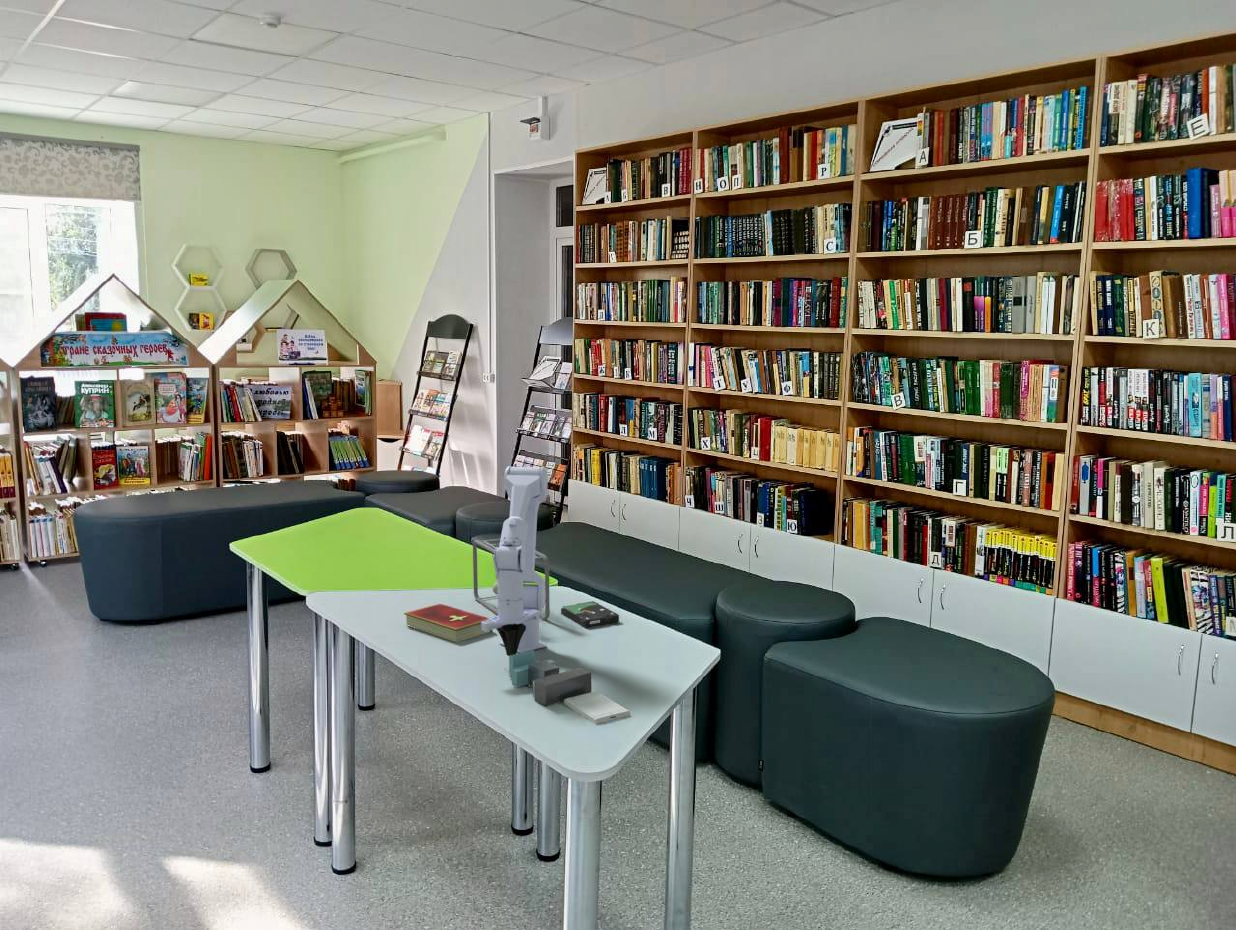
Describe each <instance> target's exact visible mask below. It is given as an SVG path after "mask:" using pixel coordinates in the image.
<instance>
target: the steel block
mask: <svg viewBox="0 0 1236 930" xmlns="http://www.w3.org/2000/svg"><path fill="white" fill-rule="evenodd" d="M558 673H560V667H559V666H557V665H555V664H554V665H553V664H551V663H549V662H547V661H544V659H542V660H538V661H535V662H534V663H530V664H528V684H527V685H530V686H532V687H533V681H534V680H537V679H540V678H544V677H547V676H551V675H554V674H558ZM530 686H529V687H530ZM532 687H531V688H532Z"/></svg>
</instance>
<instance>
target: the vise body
mask: <svg viewBox="0 0 1236 930" xmlns="http://www.w3.org/2000/svg"><path fill="white" fill-rule="evenodd" d="M592 687H593V685H592V671H589V670H588V669H585V668H582V666H581V667H576V668H573V669H569V670H565V671H561V672H559V673H558V674H554V675H551V676H547V677H544V678H540V679H537V680H534V681H533V688H532V697H533V698H534V702H536V703H538V704H539V705H542V706H544V707H548V706H552V705H555V703H556V704H558V703H561V702H564V700H565V699H567V698H571V697H575V696H579V695H583V694H587V693H591V692H593V691H592V690H593V689H592Z"/></svg>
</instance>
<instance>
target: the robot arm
mask: <svg viewBox="0 0 1236 930" xmlns="http://www.w3.org/2000/svg"><path fill="white" fill-rule="evenodd" d="M548 479H549V476H548V469H547V468H546V467H545V466H543V465H542V466H511V465H508V466H507V467H506V468H505V470H504V479H503V482H504V489H505V490H506V493H507V496H508V498H509V501H510V505H509V517H508V518H507V519H505V520H504V521H503V524H502V529H501V535H500V538H499V539H500V540H499V544H498V547H497V548H496V549H495V548H494V549H495V552H494V554H493V558H494V560H493V567H494V571H495V579H496V582H498V595H497V596H498V597H497V610H498V615H496V616H494V617H491V618H490V619H489V620H486V621H482V622H481V630H483V631H485V632H488V633H490V632H489V631H490V630H492V629H493V630H497V632H498V634H499V636H500V638H501V641H499V644H500V645H501V646H503V647H504V650H505V654H506V656H508V657H509V656H510V655H514V654H518V653H522V652H526V651H530V650H533V651H535V650H538V649H542V648H545V647H547V646H548V644H546V643H545V642H542V641H541V640H540V620H541V619H540V613H541V611H542V610H543V609H545V598H546V592H545V578H544V577H543V576H542V575H540V574H539V573H538V572H537V571H535V568H536V567H535V564H536V559H535V556H536V555H535V550H536V546H537V545H536V544H537V528H538V527H537V523H538V512H539V509H540V508H539V507H540V504H543V503H544V502H546V500H547V496H548V483H549V482H548V481H549V480H548ZM539 619H540V620H539Z"/></svg>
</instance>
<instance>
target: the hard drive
mask: <svg viewBox="0 0 1236 930" xmlns="http://www.w3.org/2000/svg"><path fill="white" fill-rule="evenodd" d="M563 703H565V704H564V705H565V706H567V707H568V708H570V709H572V710H573V711H574V712H575V713H578V714H579V715H581V716H582V717H584V718H586V719H587V720H589V722H592V723H593V724H595V725H597V724H602V723H605V722H609V721H613V720H618V719H620V718H624V717H627V716H631V711H630V710H628V709H626V708H625V707H623V706H622V705H621V704H618V703H617V702H615V701H614V700H612V699H610V698H608V697H607V696H605V695H604V694H602V693H600V692H599V691H592V692H591V693H587V694H583V695H579V696H575V697H571V698H567V699H565V700H564V701H563Z"/></svg>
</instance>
